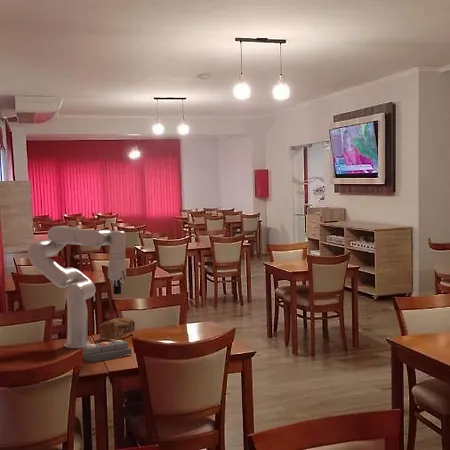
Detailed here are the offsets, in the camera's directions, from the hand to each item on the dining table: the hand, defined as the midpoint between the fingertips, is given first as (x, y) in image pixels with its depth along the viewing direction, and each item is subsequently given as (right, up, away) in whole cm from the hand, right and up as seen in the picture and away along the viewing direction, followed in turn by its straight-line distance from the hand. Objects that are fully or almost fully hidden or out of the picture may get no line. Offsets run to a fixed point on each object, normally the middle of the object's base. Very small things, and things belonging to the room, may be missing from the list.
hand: (117, 293), depth 292 cm
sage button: (+2, -24, -8) cm, 25 cm away
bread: (-5, -26, +27) cm, 38 cm away
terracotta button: (-4, -24, -12) cm, 27 cm away
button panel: (-4, -28, -12) cm, 30 cm away
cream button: (-9, -24, -17) cm, 31 cm away
